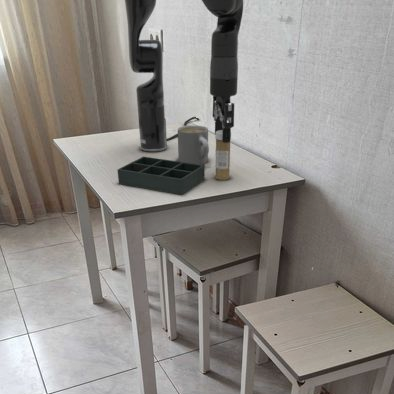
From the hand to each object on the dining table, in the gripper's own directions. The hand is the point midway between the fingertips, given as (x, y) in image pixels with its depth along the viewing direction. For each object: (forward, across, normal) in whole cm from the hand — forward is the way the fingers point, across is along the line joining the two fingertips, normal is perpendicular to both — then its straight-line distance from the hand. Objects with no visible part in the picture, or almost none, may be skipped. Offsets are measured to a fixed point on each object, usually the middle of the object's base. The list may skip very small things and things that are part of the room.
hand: (222, 138), depth 140 cm
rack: (+12, -1, -18) cm, 22 cm away
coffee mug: (+12, -18, -4) cm, 22 cm away
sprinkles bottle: (+12, 0, 0) cm, 12 cm away
